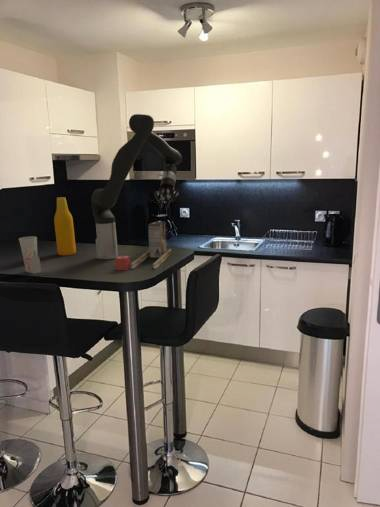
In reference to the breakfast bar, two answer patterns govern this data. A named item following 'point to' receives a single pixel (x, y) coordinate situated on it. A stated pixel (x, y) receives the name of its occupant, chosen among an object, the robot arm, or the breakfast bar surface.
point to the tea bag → (32, 262)
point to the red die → (122, 262)
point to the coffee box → (157, 239)
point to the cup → (28, 244)
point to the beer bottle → (64, 229)
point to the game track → (148, 256)
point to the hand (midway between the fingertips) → (163, 207)
